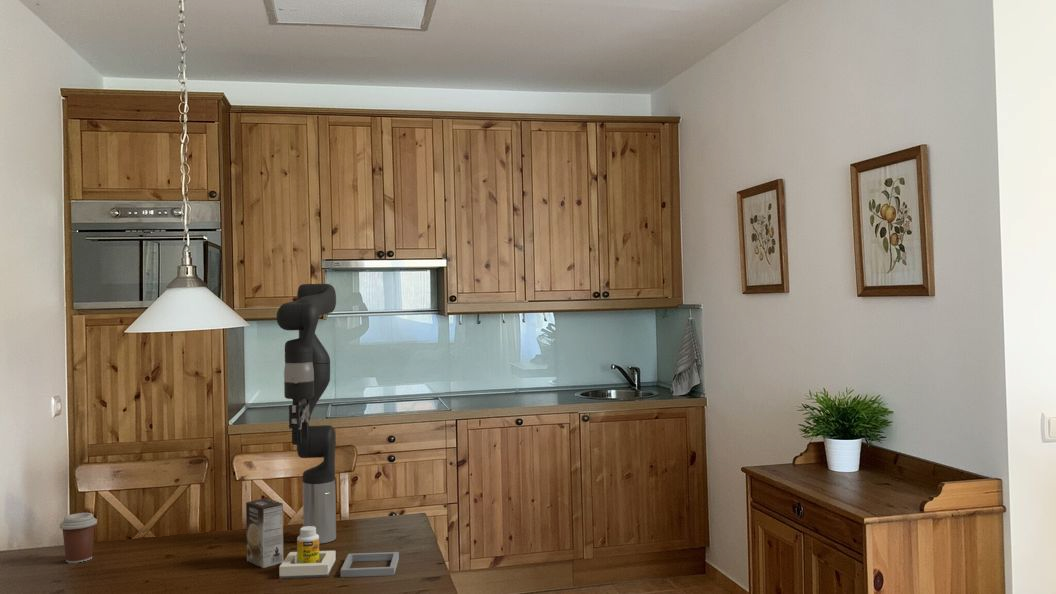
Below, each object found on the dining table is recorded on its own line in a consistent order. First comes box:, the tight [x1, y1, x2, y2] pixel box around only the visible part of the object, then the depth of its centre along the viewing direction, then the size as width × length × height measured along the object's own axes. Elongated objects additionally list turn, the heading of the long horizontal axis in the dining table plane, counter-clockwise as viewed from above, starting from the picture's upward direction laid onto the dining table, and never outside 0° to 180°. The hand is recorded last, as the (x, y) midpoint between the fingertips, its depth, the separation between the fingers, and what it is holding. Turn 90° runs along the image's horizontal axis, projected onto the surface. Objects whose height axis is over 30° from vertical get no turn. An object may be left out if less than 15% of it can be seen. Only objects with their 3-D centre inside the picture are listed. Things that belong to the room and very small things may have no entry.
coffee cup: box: [59, 512, 98, 564], centre depth 226 cm, size 9×9×12 cm
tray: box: [340, 551, 400, 578], centre depth 216 cm, size 13×13×2 cm
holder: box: [278, 550, 337, 580], centre depth 215 cm, size 12×12×3 cm
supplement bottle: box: [296, 526, 320, 564], centre depth 215 cm, size 6×6×10 cm
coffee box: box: [245, 497, 284, 569], centre depth 222 cm, size 9×6×16 cm
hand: (300, 441), depth 216 cm, fingers open, 8 cm apart
